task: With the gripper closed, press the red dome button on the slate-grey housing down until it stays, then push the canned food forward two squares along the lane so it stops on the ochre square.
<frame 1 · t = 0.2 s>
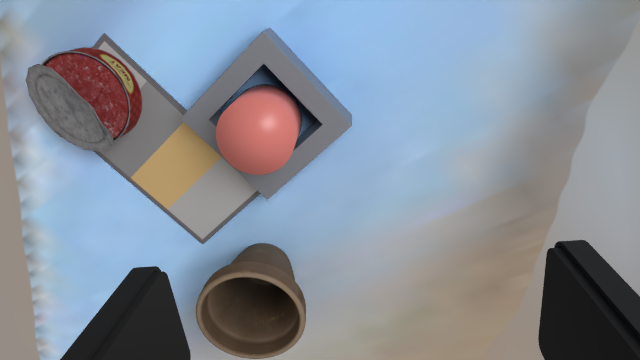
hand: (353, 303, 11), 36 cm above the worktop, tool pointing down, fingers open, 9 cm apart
lane: (158, 148, 49), on the worktop
canned food: (98, 95, 47), resting on lane
dome button: (261, 128, 41), point 6 cm above the worktop, slide at 0.0 cm
dome housing: (271, 111, 47), on the worktop
flower pot: (266, 262, 55), on the worktop
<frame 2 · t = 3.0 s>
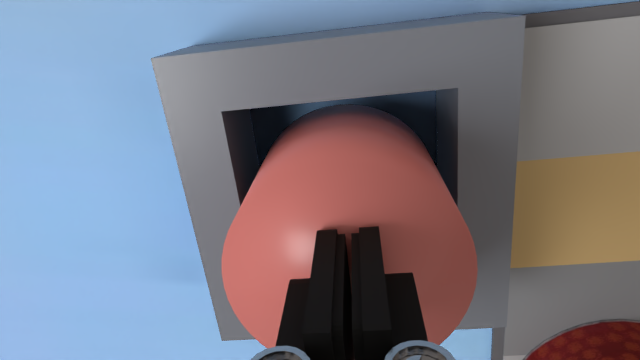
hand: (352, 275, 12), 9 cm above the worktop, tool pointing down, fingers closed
lane: (619, 257, 21), on the worktop
dome button: (347, 226, 15), point 6 cm above the worktop, slide at 0.5 cm, touching gripper
dome housing: (347, 167, 20), on the worktop
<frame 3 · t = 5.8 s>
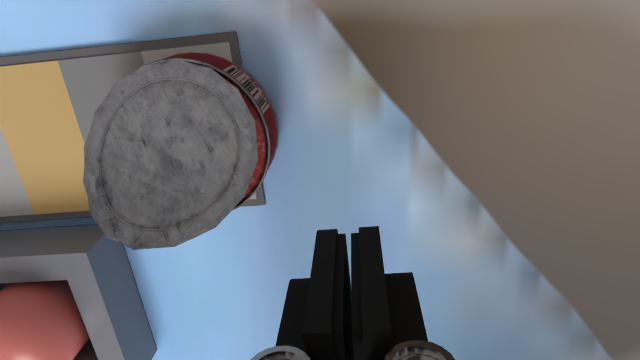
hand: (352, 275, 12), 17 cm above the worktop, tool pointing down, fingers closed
lane: (85, 138, 30), on the worktop
canned food: (203, 128, 29), resting on lane
dome button: (34, 328, 31), point 4 cm above the worktop, slide at 2.1 cm
dome housing: (66, 294, 35), on the worktop
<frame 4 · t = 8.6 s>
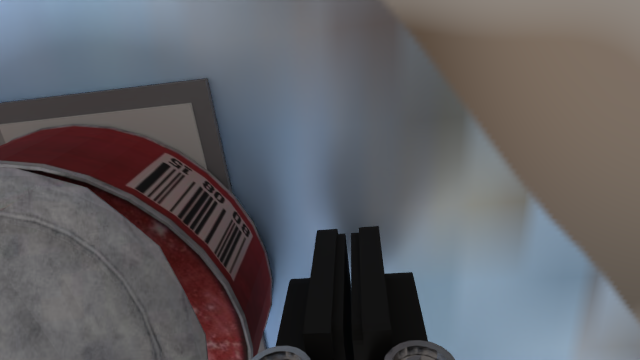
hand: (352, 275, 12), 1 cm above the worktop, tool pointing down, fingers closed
canned food: (118, 271, 14), resting on lane
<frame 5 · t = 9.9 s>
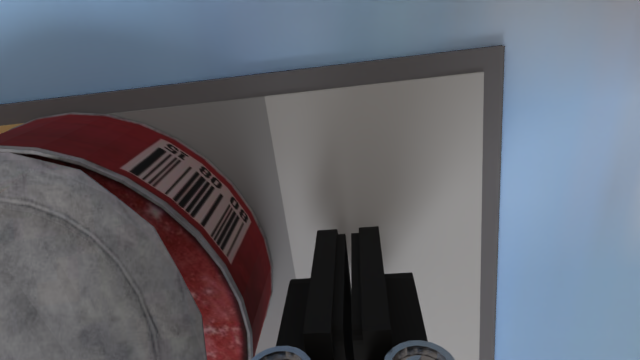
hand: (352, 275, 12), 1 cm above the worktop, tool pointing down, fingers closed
lane: (127, 273, 14), on the worktop
canned food: (119, 261, 14), resting on lane, touching gripper
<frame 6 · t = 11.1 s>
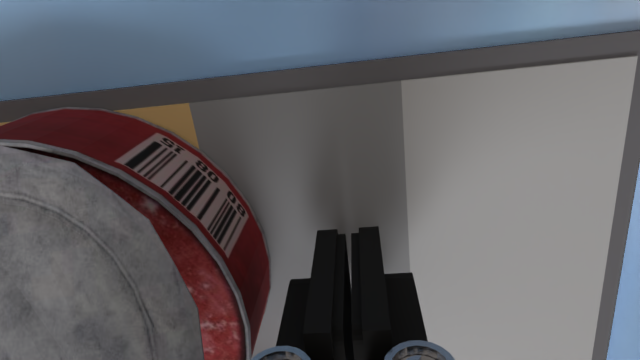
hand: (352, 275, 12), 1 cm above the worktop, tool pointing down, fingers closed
lane: (230, 265, 14), on the worktop
canned food: (116, 258, 14), resting on lane, touching gripper
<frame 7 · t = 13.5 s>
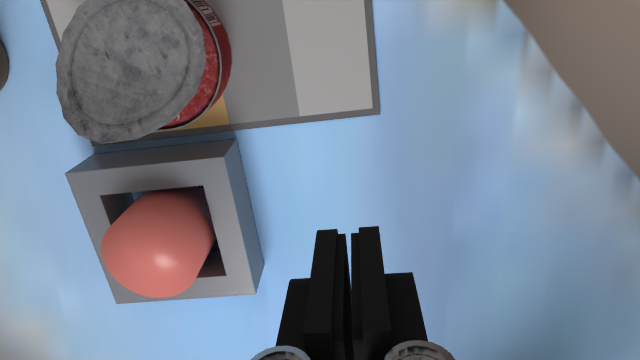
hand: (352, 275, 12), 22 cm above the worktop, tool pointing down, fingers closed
lane: (215, 54, 32), on the worktop
canned food: (165, 52, 32), resting on lane
dome button: (165, 236, 34), point 4 cm above the worktop, slide at 2.1 cm
dome housing: (183, 212, 37), on the worktop
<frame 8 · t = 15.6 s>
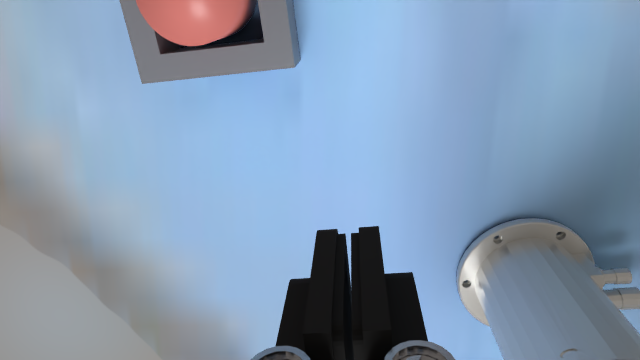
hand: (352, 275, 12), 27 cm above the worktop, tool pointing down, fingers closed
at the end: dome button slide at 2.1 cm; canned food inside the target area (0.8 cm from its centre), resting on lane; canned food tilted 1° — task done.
